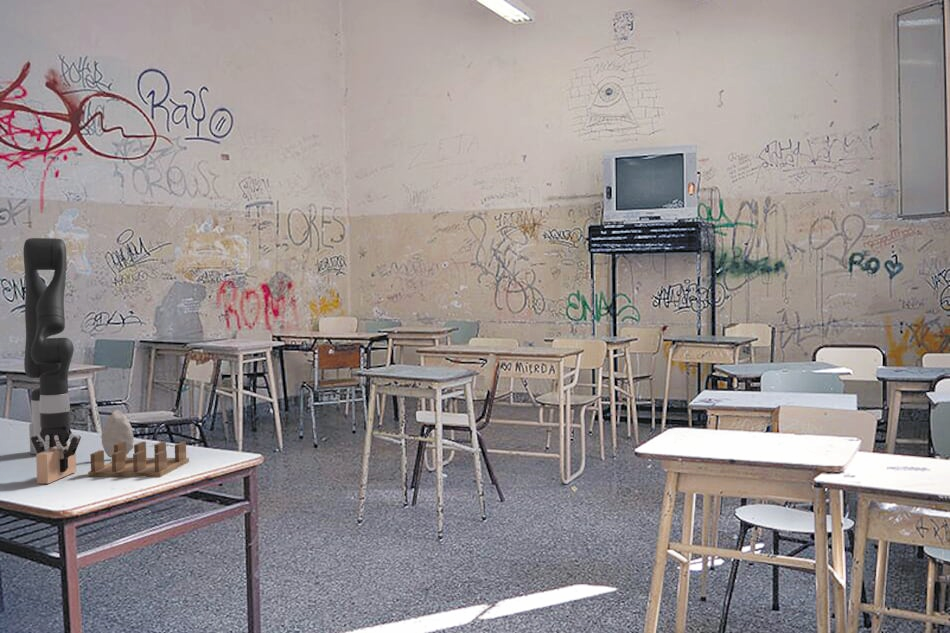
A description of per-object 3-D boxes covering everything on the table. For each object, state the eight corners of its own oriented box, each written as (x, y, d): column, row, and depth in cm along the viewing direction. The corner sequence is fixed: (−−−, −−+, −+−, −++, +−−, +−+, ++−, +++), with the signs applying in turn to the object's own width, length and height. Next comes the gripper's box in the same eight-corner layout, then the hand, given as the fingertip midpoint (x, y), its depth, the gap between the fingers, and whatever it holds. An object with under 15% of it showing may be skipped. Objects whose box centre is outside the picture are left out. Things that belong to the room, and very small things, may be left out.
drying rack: (88, 476, 242) (87, 454, 241) (121, 461, 260) (121, 441, 260) (160, 476, 240) (159, 454, 239) (189, 461, 259) (188, 441, 258)
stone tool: (103, 461, 261) (101, 412, 261) (101, 459, 264) (99, 410, 263) (135, 457, 266) (133, 409, 266) (132, 455, 269) (131, 407, 268)
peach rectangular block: (37, 483, 233) (36, 454, 232) (66, 471, 247) (65, 443, 246) (47, 483, 233) (46, 454, 232) (76, 471, 247) (75, 443, 246)
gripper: (22, 412, 236) (25, 474, 237) (71, 412, 234) (74, 475, 235) (38, 407, 243) (41, 468, 244) (86, 407, 242) (88, 468, 243)
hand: (57, 471), depth 240 cm, fingers closed on peach rectangular block, 3 cm apart
